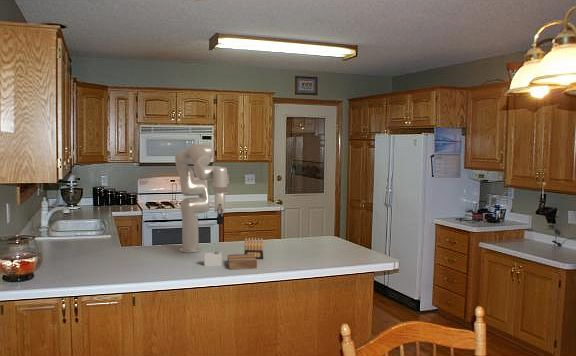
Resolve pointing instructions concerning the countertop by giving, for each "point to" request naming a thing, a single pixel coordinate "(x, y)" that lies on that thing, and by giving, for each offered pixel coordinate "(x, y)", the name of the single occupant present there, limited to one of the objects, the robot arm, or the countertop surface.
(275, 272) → the countertop surface
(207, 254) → the block
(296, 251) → the countertop surface
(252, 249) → the ammunition clip
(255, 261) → the walnut stand
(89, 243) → the countertop surface
